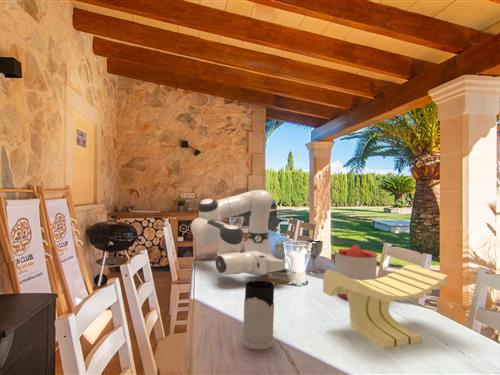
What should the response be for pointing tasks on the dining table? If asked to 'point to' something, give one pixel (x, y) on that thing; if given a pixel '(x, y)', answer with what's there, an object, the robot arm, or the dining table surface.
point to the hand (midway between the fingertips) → (281, 259)
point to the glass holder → (258, 315)
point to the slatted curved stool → (383, 301)
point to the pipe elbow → (280, 253)
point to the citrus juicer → (355, 264)
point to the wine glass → (315, 253)
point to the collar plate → (277, 277)
